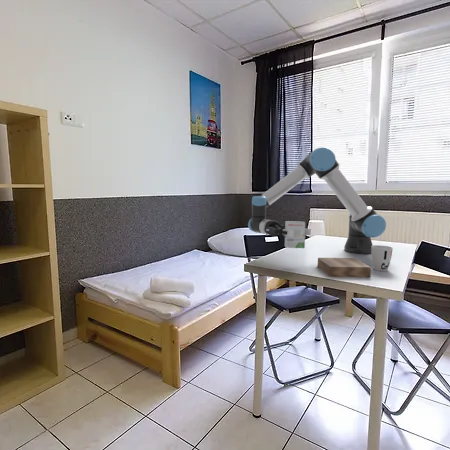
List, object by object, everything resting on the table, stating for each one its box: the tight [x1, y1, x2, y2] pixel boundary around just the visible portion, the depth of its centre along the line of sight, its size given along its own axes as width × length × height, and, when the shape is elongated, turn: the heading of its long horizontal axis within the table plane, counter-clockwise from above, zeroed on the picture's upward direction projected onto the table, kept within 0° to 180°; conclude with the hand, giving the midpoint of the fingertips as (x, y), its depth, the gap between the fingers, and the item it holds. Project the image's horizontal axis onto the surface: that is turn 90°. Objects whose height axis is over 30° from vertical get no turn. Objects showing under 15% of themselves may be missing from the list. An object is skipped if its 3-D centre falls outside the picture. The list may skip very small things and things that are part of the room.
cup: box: [370, 244, 394, 272], centre depth 128 cm, size 8×8×10 cm
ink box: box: [284, 220, 306, 249], centre depth 135 cm, size 9×5×12 cm, turn 84°
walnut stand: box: [317, 257, 372, 278], centre depth 125 cm, size 16×16×4 cm
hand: (301, 233), depth 131 cm, fingers closed on ink box, 9 cm apart
